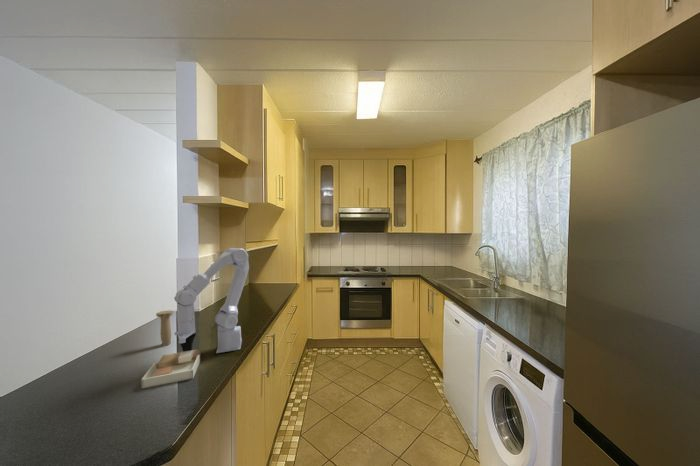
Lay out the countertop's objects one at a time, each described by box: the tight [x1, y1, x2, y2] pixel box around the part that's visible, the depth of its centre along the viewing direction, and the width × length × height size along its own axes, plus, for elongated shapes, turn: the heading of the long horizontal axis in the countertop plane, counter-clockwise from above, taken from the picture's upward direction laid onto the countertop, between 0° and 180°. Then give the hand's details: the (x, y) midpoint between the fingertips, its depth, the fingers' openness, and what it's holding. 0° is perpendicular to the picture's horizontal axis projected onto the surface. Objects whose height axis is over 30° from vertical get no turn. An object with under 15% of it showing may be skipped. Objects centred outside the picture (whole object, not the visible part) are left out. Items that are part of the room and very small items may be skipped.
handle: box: [155, 309, 174, 347], centre depth 119 cm, size 5×6×15 cm
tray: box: [140, 355, 201, 390], centre depth 94 cm, size 15×12×3 cm
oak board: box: [156, 348, 202, 369], centre depth 103 cm, size 13×7×2 cm, turn 110°
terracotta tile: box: [156, 366, 172, 376], centre depth 92 cm, size 4×4×2 cm
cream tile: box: [178, 349, 194, 363], centre depth 100 cm, size 4×4×2 cm
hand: (187, 354), depth 102 cm, fingers closed
